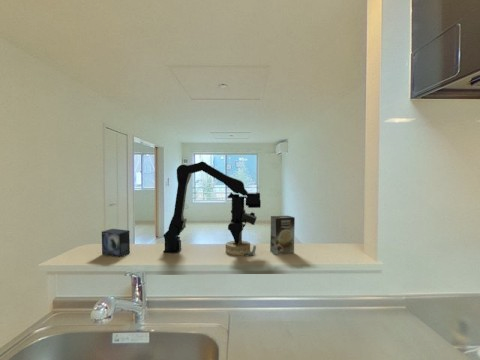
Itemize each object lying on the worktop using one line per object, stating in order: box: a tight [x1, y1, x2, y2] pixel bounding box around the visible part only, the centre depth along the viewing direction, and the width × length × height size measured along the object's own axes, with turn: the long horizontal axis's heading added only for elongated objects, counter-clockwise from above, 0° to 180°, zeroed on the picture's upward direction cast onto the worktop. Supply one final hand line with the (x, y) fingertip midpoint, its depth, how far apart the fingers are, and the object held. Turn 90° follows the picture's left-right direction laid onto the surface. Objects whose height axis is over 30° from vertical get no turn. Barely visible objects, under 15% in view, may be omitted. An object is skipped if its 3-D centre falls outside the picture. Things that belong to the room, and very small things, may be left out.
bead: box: [225, 240, 251, 256], centre depth 129 cm, size 11×11×4 cm
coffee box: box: [269, 215, 296, 256], centre depth 127 cm, size 9×6×16 cm
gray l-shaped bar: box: [243, 245, 256, 257], centre depth 129 cm, size 4×14×1 cm, turn 173°
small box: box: [101, 228, 131, 258], centre depth 124 cm, size 11×6×10 cm, turn 68°
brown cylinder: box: [233, 230, 243, 245], centre depth 129 cm, size 3×3×10 cm
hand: (237, 241), depth 129 cm, fingers open, 6 cm apart
